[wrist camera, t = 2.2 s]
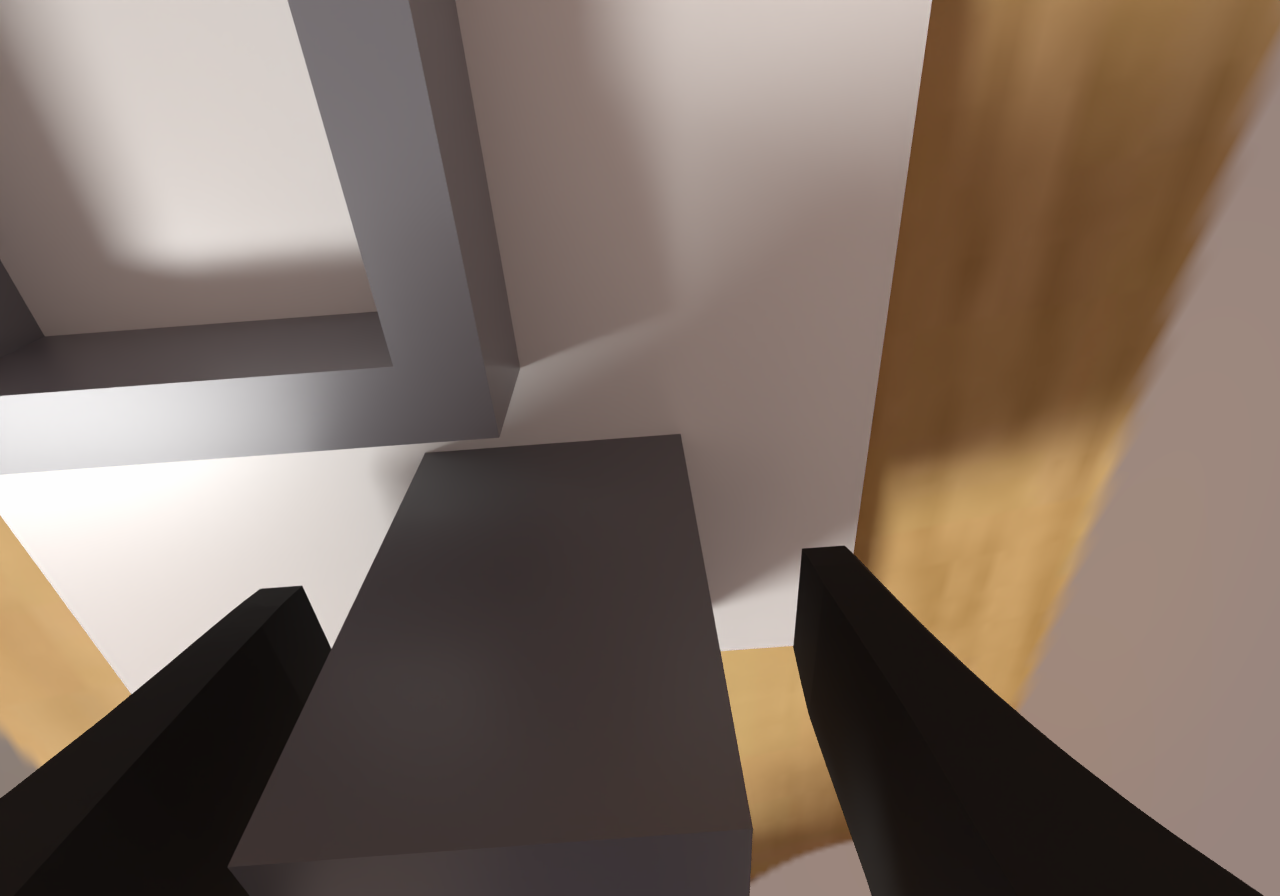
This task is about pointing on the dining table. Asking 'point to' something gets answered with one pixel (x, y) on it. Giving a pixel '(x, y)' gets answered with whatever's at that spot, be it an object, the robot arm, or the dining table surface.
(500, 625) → the block
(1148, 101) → the dining table surface
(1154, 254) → the dining table surface
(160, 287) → the outlet plate
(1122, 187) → the dining table surface
